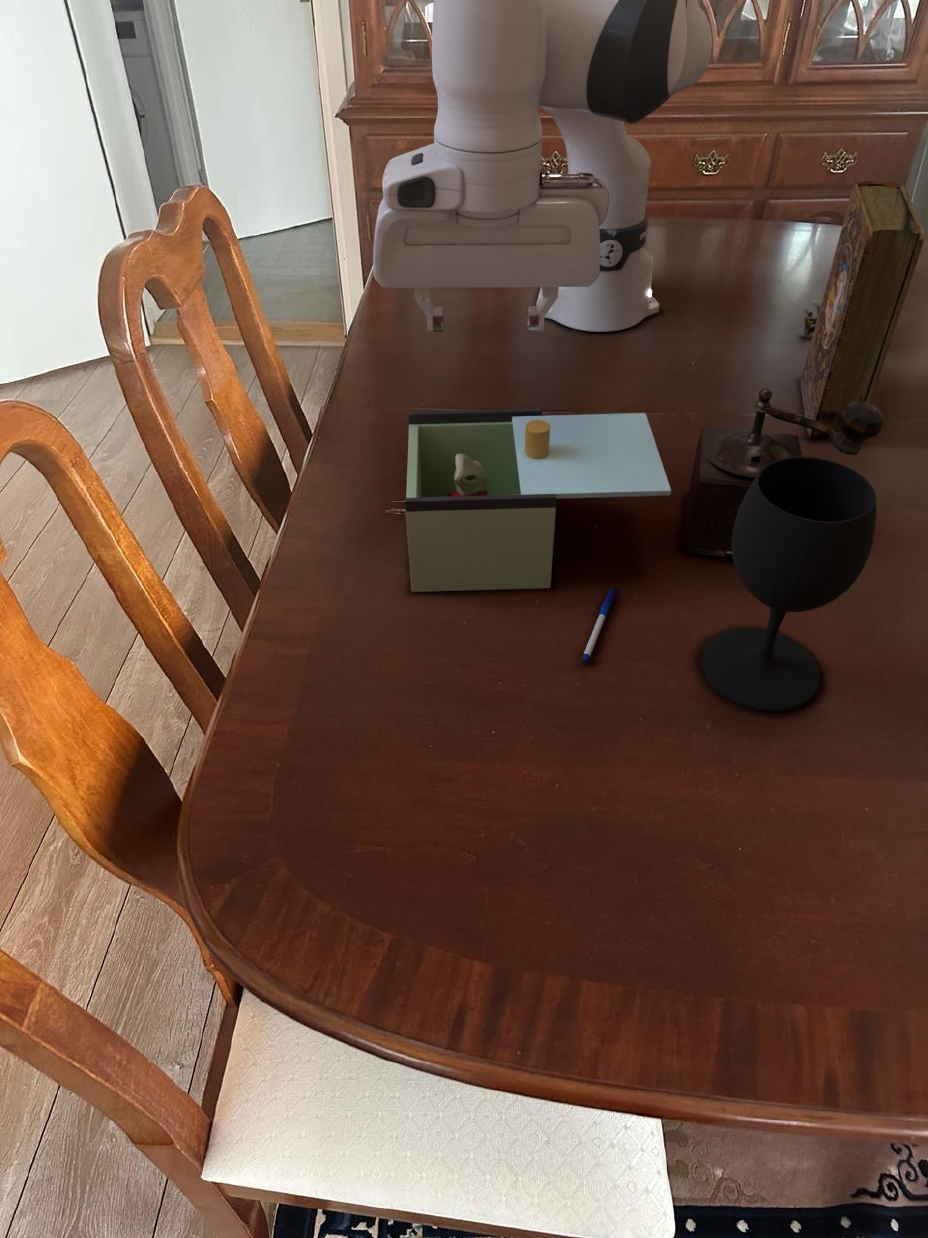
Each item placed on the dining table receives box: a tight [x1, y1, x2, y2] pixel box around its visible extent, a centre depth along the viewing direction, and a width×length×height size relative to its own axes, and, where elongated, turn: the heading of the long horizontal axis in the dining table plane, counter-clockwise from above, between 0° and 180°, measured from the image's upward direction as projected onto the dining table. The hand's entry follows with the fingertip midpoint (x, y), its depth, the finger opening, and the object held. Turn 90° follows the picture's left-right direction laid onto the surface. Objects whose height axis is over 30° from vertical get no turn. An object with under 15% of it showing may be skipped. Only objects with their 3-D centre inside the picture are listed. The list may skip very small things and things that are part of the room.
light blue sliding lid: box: [512, 412, 672, 500], centre depth 87 cm, size 14×14×4 cm
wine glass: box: [702, 456, 877, 713], centre depth 74 cm, size 10×10×20 cm
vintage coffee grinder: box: [682, 388, 885, 560], centre depth 90 cm, size 16×11×18 cm
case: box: [404, 407, 557, 593], centre depth 92 cm, size 16×14×11 cm
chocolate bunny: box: [448, 454, 490, 497], centre depth 92 cm, size 6×8×10 cm
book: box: [800, 180, 926, 439], centre depth 105 cm, size 16×6×25 cm, turn 168°
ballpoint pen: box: [581, 587, 616, 664], centre depth 85 cm, size 10×1×1 cm, turn 160°
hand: (485, 328), depth 84 cm, fingers open, 8 cm apart
